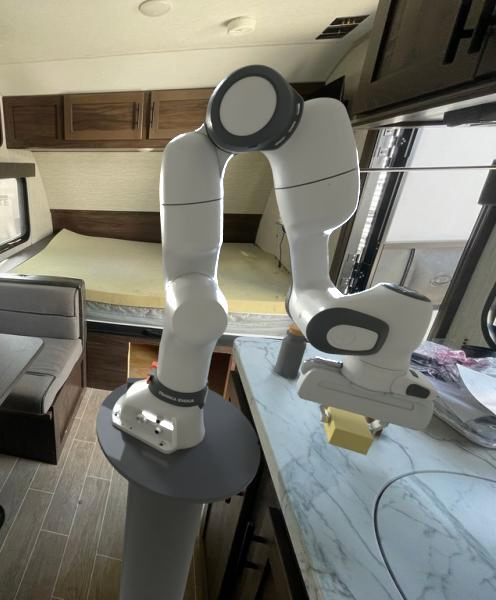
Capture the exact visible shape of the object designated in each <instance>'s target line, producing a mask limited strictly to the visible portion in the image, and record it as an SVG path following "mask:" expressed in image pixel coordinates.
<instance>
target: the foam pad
mask: <svg viewBox="0 0 496 600" xmlns="http://www.w3.org/2000/svg"><path fill="white" fill-rule="evenodd" d="M325 411H327V412H330V416H331V419H330V421H329V423H324V422H323V425H324V430H325V434H326V438H327V443H328V444H329V445H332V446H336V447H338V448H342V449H345V450H348V451H350V452H354V453H357V454H360V455H363V456H367V455H368V453H369V451H370V449H371V446H372V444H373V443H374V440H375V438H374V437H373V436H372V434H371V431H370V429H369V426H368V424H367V421H366V419H365V417H364V416H362V415H359V414H355V413H351V412H348V411H344V410H341V409H337V408H333V407H330V406H329V407H328V409H325Z"/></svg>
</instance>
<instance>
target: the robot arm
mask: <svg viewBox="0 0 496 600" xmlns="http://www.w3.org/2000/svg"><path fill="white" fill-rule="evenodd" d="M205 113H206V114H205V120H204V122H203V123H202V124H201V126H200V127H199V128H197V129H195V130H193V131H188V132H183V133H181V134H179V135H177V136H176V137H174V138H173V139H171V140H170V141H169V142H168V143H167V144H166V146H165V147H164V150H163V152H162V157H161V164H160V173H159V174H160V175H159V176H160V177H159V210H160V211H159V213H160V231H161V232H160V233H161V251H162V252H161V253H162V275H163V276H162V279H163V281H162V282H163V294H164V305H165V306H164V322H163V326H162V333H161V338H160V341H159V348H158V359H157V361H152V363H151V365H150V366H149V367H150V370H149V371H148V373H147V377H126V383H127V390H128V391H127V392H126V393H125V394H124V395H122V396H121V397H120V399H119V400H118V401H117V403H116V404H115V406H114V408H113V411H112V417H111V420H112V424H113V425H114V426H115V427H117V428H119V429H121V430H123V431H124V432H126V433H128V434H130V435H132V436H133V437H135V438H137V439H139V440H141V441H142V442H144V443H146V444H148V445H149V446H151V447H153V448H155V449H157V450H158V451H160V452H162V453H164V454H170V453H172V452H174V451H176V450H178V449H185V448H191V447H194V446H196V445H197V444H199V443H200V442H201V441H202V440H203V438H204V435H205V427H204V421H203V407H204V404H205V402H206V398H207V393H208V389H209V380H208V377H209V371H210V366H211V360H212V355H213V352H214V350H215V347H216V345H217V343H218V341H219V339H220V338H222V336H223V335H224V334H225V332H226V330H227V327H228V323H229V311H228V303H227V300H226V298H225V296H224V294H223V292H222V291H221V289H220V287H219V282H218V277H217V275H218V274H217V273H218V263H219V257H220V256H219V255H220V250H221V247H222V244H223V235H224V233H223V231H224V230H223V229H224V179H225V171H226V168H227V165H228V163H229V161H230V159H231V158H233V157H235V156H236V155H239V154H245V153H250V152H260V153H262V154H263V155H264V156H265V157H266V158H267V160H268V162H269V165H270V168H271V171H272V178H273V187H274V193H275V199H276V204H277V207H278V211H279V215H280V218H281V221H282V224H283V228H284V231H285V234H286V237H287V243H288V244H287V245H288V253H289V255H288V256H289V264H290V265H289V266H290V276H291V277H290V284H289V288H288V291H287V293H286V297H285V300H284V308H285V311H286V314H287V316H288V318H290V319H291V320H292V321H293V323H294V324H296V325H297V326H298V328H299V329H300V331H301V332H302V333H303V335H304V336H305V338H306V340H307V342H308V343H309V344H310V345H311V346H312V347H313V348H314V349H316V350H317V351H319V352H321V353H324V354H328V355H336V356H343V357H342V360H341V361H337V360H333V359H325V358H322V357H320V356H314V357H309V358H307V359H304V361H303V362H302V363H301V366H300V371H301V373H300V375H299V376H298V378H297V381H296V384H295V393H296V394H297V396H298V397H299V399H302V400H306V401H308V402H312V403H316V404H318V408H319V410H320V413H319V416H318V418H319V422H322V423H323V424H324V423H329V421H330V419H331V416H330V412H327V411H325V409H328V407H329V406H330V407H333V408H337V409H341V410H344V411H348V412H351V413H355V414H359V415H362V416H366V417H369V418H373V419H376V420H375V421H374V422H372V423H370V424H369V423H367V424H368V426H369V429H370V431H371V434H372V436H373V438H374V437H375V436H376V435H375V433H376V431H379V430H381V429H383V430H384V429H385V428H388V427H389V425H390V424H391V425H395V426H398V427H402V428H405V429H409V430H412V431H418V432H419V431H423V430H424V429H426V428H427V427H428V426H429V424H430V422H431V420H432V417H433V414H434V412H435V404H434V402H433V401H435V400H436V399H438V396H439V392H438V390H437V389H436V387H435V386H434V384H433V383H432V382H431V380H430V379H429V378H428V377H427V376H426V375H425V374H424V373H423V372H421V371H419V370H417V369H416V368H414V367H412V366H411V359H412V355H413V353H414V352H415V351H416V350H417V349H419V347H420V346H421V345H422V342H423V340H424V338H425V336H426V334H427V331H428V329H429V327H430V324H431V321H432V318H433V313H434V304H433V301H432V300H431V299H430V298H428V297H427V296H426V295H424V294H423V293H421V292H419V291H417V290H415V289H411V288H409V287H407V286H404V285H400V284H396V283H392V282H380V283H378V284H376V285H375V286H373V287H371V288H369V289H365V290H363V291H360V292H356V293H352V294H346V295H344V294H342V293H341V292H340V291H339V289H338V288H337V287H336V286H335V284H334V283H333V281H332V280H331V277H330V266H329V238H330V235H331V233H332V232H333V231H334V230H336V229H338V228H340V227H341V226H342V225H344V224H345V223H346V222H347V221H349V219H350V218H351V217H352V216H353V215H354V213H355V212H356V210H357V208H358V203H359V196H360V191H361V189H360V188H361V186H360V185H361V179H360V177H361V176H360V166H359V154H358V150H357V149H358V147H357V142H356V138H355V134H354V130H353V126H352V123H351V119H350V117H349V113H348V111H347V108H346V106H345V105H344V103H343V102H341V100H338V99H336V98H332V97H317V98H312V99H308V100H306V101H305V99H304V98H303V97H302V96H301V94H300V93H299V92H297V90H296V89H295V88H294V87H293V86H292V85H291V84H290V83H289V82H288V80H287V79H286V78H285V77H284V76H283V75H282V74H280V72H278V71H277V70H276V69H274V68H272V67H270V66H268V65H266V64H265V65H264V64H249V65H245V66H242V67H239V68H237V69H235V70H233V71H232V72H229V74H228V75H226V76H225V77H224V78H223V79H222V80H221V81H220V82H219V83H218V84H217V86H216V87H215V89H214V90H213V92H212V94H211V95H210V98H209V100H208V104H207V107H206V112H205ZM160 445H162V446H160Z"/></svg>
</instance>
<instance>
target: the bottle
mask: <svg viewBox="0 0 496 600" xmlns="http://www.w3.org/2000/svg"><path fill="white" fill-rule="evenodd" d="M285 334H286V336H284V337H283V339H282V341H281V345H280V348H279V352H278V355H277V359H276V363H275V366H274V370H275V372H276V374H278V375H280V376H281V377H284V378H288V379H295V378H297V376H298V374H299V370H300V369H301V366H302V363H303V362H302V361H303V358H304V356H305V352H306V348H307V345H308V344H307V342H306V340H307V339H306V338H305V336H304V335H303V333H302V332H301V331H300V329H299V328H298V326H297V325H296V323H290V324H289V325H288V329H287V330H286V333H285Z"/></svg>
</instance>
